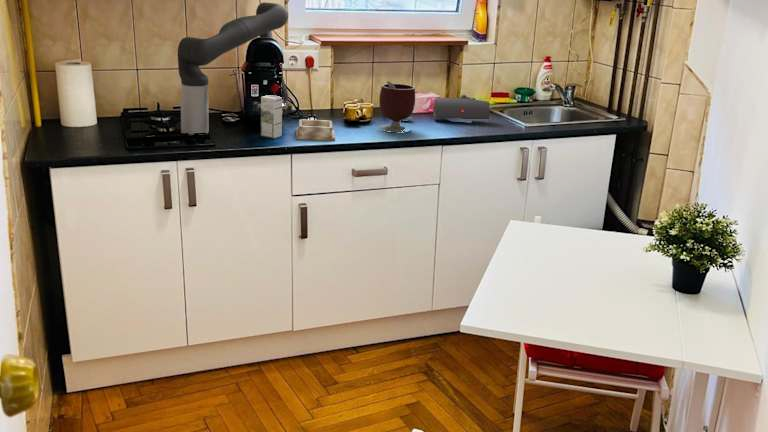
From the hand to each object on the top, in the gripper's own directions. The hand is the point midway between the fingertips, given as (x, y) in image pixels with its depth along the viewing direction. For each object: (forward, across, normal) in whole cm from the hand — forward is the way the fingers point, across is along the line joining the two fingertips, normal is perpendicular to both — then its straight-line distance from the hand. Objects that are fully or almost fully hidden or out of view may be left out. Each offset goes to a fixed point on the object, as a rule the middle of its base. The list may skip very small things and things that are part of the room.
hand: (271, 111), depth 279 cm
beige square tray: (-1, +16, +8) cm, 18 cm away
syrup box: (+3, 0, +9) cm, 9 cm away
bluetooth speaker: (-37, +78, +9) cm, 86 cm away
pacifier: (-34, +53, +9) cm, 64 cm away
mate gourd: (-16, +47, +9) cm, 50 cm away
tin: (-32, +33, +9) cm, 47 cm away
